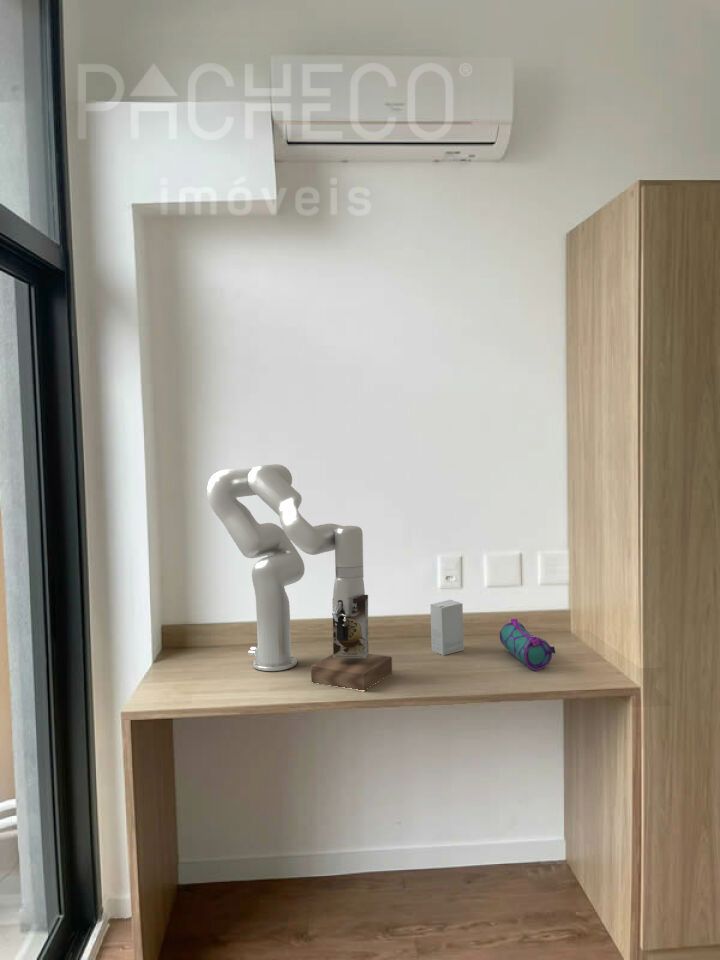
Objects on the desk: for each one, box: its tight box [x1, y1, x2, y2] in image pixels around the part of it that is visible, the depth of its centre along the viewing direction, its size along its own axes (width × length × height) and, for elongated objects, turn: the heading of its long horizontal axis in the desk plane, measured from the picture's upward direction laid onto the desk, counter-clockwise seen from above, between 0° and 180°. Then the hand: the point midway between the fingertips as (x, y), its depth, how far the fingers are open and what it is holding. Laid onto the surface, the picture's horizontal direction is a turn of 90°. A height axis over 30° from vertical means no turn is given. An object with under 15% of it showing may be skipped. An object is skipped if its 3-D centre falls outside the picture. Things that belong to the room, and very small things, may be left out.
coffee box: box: [332, 594, 369, 658], centre depth 191 cm, size 9×6×16 cm
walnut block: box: [310, 653, 393, 691], centre depth 191 cm, size 16×16×5 cm
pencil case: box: [499, 618, 556, 672], centre depth 203 cm, size 21×9×10 cm, turn 9°
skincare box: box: [430, 599, 464, 656], centre depth 213 cm, size 8×6×15 cm
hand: (350, 635), depth 191 cm, fingers closed on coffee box, 8 cm apart
